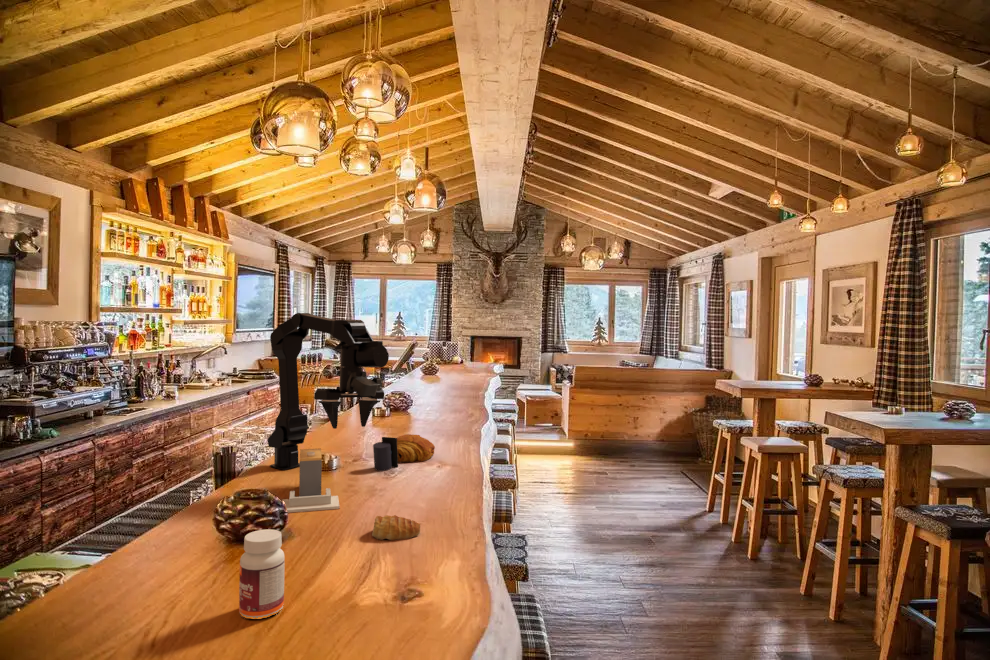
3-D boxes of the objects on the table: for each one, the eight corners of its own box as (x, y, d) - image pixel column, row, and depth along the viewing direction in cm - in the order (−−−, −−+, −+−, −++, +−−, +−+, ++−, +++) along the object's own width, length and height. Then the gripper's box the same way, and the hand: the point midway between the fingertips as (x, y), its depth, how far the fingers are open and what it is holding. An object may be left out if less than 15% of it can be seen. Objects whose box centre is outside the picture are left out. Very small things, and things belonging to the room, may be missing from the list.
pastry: (420, 528, 122) (421, 510, 122) (419, 541, 116) (419, 522, 116) (374, 529, 122) (375, 511, 121) (370, 542, 115) (371, 523, 115)
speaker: (386, 463, 173) (385, 434, 172) (398, 467, 171) (398, 437, 169) (370, 470, 168) (369, 440, 167) (382, 474, 165) (382, 443, 164)
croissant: (379, 468, 178) (377, 442, 177) (402, 449, 193) (400, 426, 191) (423, 471, 174) (421, 445, 172) (443, 452, 188) (441, 428, 187)
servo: (299, 486, 150) (300, 446, 149) (320, 485, 151) (320, 445, 151) (299, 498, 140) (299, 455, 140) (321, 497, 142) (321, 454, 141)
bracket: (281, 502, 137) (281, 491, 137) (337, 498, 141) (337, 487, 141) (280, 513, 130) (280, 502, 130) (339, 508, 133) (339, 497, 133)
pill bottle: (231, 611, 87) (232, 535, 87) (270, 596, 92) (271, 524, 91) (252, 626, 83) (253, 546, 83) (292, 610, 88) (292, 534, 87)
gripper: (342, 366, 142) (339, 431, 141) (399, 368, 157) (397, 427, 156) (314, 366, 149) (311, 428, 148) (371, 368, 164) (369, 425, 163)
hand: (349, 427), depth 153 cm, fingers open, 9 cm apart
